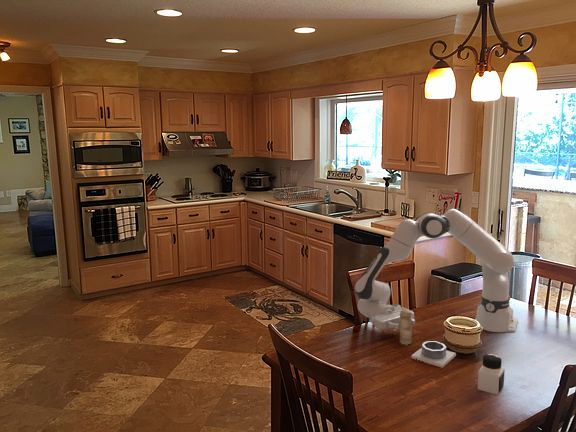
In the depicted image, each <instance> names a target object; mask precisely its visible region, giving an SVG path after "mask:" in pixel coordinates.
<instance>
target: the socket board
mask: <svg viewBox="0 0 576 432" xmlns="http://www.w3.org/2000/svg"><path fill="white" fill-rule="evenodd" d="M456 356H457V353H456V352H453V351H450V350H447V346H446V345H445V344H444V343H442V342H438V341H436V340H432V341H431V340H429V341H428V340H427V341H425V342H423V343H422V344H421V348H419V349H418V350H416V351H415V352H414V353H413V354H411V359H413V360H416V359H417V360H416V361H419V360H420V361H419V362H422V361H423V362H424V363H425V364H429V365H432V366H436V367H439V368H440V369H441V368H442V369H443V368H444V367H445V366H446V365H447V364H449V362H450V361H452V360H453V359H455V357H456Z"/></svg>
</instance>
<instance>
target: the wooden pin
mask: <svg viewBox="0 0 576 432" xmlns="http://www.w3.org/2000/svg"><path fill="white" fill-rule="evenodd" d="M409 310H410V309H408V310H402V311H400V324H399V344H400V343H401V344H400V345H402V344H405V345H404V346H409V345H408V344H411V343H412V341H413V340H412V338H413V336H412V335H413V333H412V332H413V329H412V328H413V324H412V312H411V311H412V310H411V311H409ZM411 345H412V344H411Z"/></svg>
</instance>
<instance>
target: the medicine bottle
mask: <svg viewBox="0 0 576 432" xmlns="http://www.w3.org/2000/svg"><path fill="white" fill-rule="evenodd" d="M502 362H503V361H502V358H501V357H500V356H499V355H496V354H493V353H488V354H484V355H483V356H482V365H481V367H480V369H479V370H478V374H477V390H479V391H483V392H485V393H490V394H493V395H496V396H500V393H501V392H502V390H503V389H504V387H505V368H504V367H502Z"/></svg>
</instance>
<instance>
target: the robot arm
mask: <svg viewBox="0 0 576 432" xmlns="http://www.w3.org/2000/svg"><path fill="white" fill-rule="evenodd" d="M395 228H396V229H395V230H394V231H393V233H392V235H391V237H390V239H389V240H388V241H387V243H386V245H384V246H383V247H381V248H380V249H379V250H378V251H377V252H376V253H375V255H374V256H373V258H372V260H370V263H369V264H368V266H367V267H366V268H365V270H364V272H363V273H362V274H361V276H360V277H359V278H358V279H357V280H356V282H355V283H354V291H355V292H354V293H355V295H356V297H358V301H357V310H358V311H359V312H360V314H362V315H363V316H364V317H366V318H368V321H369V323H372V325H373V326H374V327H376V328H377V329H379V330H385V329H389V328H391V329H395V330H397V329H398V330H399V329H400V311H402V310H409V311H411V312H412V325H415V324H416V320H415V313H414V311H412V310H410V309H408V308H406V307H404V306H403V307H401V305H400V304H388V303H389V301H390V299H391V295H392V293H391V292H392V291H391V287H390V285H389V284H388V283H386V282H383V281H379V280H376V278H378V275H379V273H380V272H381V270H382V269H383V268H384V267H385V266H386V265H388V264H390V263H393V262H401V261H404V260H407V259H408V258H409V256H410V255H411V253H412V251H413V249H414V247H415V245H416V243H417V241H418V240H419V239H420V238H421V237H423V236H424V237H426V238H428V239H437V238H440V237H441V236H443V235H445V234H446V233H448V234H450V235H451V236H453V238H454V239H456V240H457V241H458V242H460V243H461V245H463V246H464V247H465V248H466V249H468V250H469V251H470V252H471V253H472V254H473V255H475V256H476V257H477V258H478V259H479V260H480V261H481V273H482V289H481V291H482V292H481V296H480V304H479V305H477V309H476V317H475V318H474V319H475V320H477V321H478V322H479V323H480V324H481V326H482V327H483V328H484V329H483V330H484V331H487V332H492V333H506V332H510V333H515V332H516V330H517V326H518V323H519V319H518V318H516V317H515V316H514V309H513V308H512V307H511V306H510V300H511V296H510V295H509V291H510V289H509V287H510V281H509V274H508V273H509V272H510V271H511V270H512V269H513V267H514V266H515V260H514V255H513V253H512V252H511V251H510V250H509V249H507V247H505V246H504V245H503V244H502V243H501V242H500V241H498V240H497V239H496V238H495V237H493V236H492V235H491V234H489V233H488V232H487V231H486V230H485V229H484V228H482V227H481V226H480V225H479V224H478V223H477V222H475V221H474V220H473V219H472V218H470V217H469V216H468V215H466V214H464V213H463V212H461V211H459V210H458V209H456V208H451V209H448V210H447V211H445V212H444V213H443V214H441V215H439V214H436V213H432V212H425V213H423V214H421V215H419V216H418V217H416V219H414V220H413V219H408V218H406V219H403V220H401V221H400V223H399V224H398V225H397V227H395Z"/></svg>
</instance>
